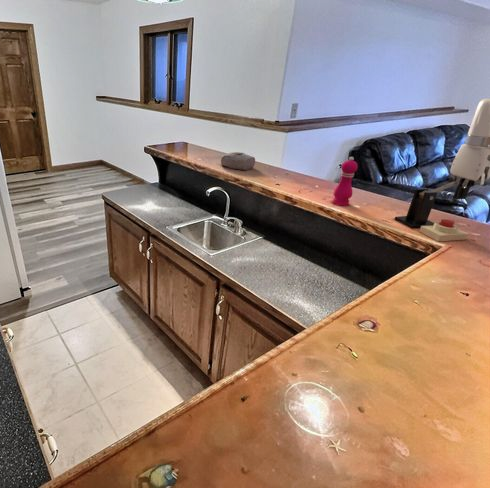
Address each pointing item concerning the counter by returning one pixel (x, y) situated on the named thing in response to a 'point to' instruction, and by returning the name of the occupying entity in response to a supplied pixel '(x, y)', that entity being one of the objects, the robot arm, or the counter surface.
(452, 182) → the toaster lever
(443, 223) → the button
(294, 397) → the counter surface
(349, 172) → the pepper mill
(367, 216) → the counter surface
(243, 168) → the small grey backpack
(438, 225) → the button block
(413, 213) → the lever bracket
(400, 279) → the counter surface
